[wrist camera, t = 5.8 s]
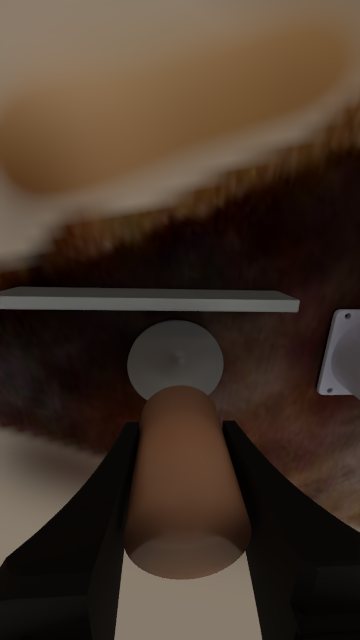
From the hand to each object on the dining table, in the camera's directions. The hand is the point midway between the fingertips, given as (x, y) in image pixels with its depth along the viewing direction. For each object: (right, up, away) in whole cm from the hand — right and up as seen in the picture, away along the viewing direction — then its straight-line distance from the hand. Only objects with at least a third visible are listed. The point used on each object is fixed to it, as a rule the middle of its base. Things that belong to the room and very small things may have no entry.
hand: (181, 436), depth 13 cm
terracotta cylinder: (0, 0, +1) cm, 1 cm away
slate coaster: (0, +2, +8) cm, 8 cm away
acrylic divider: (-2, +8, +6) cm, 11 cm away
